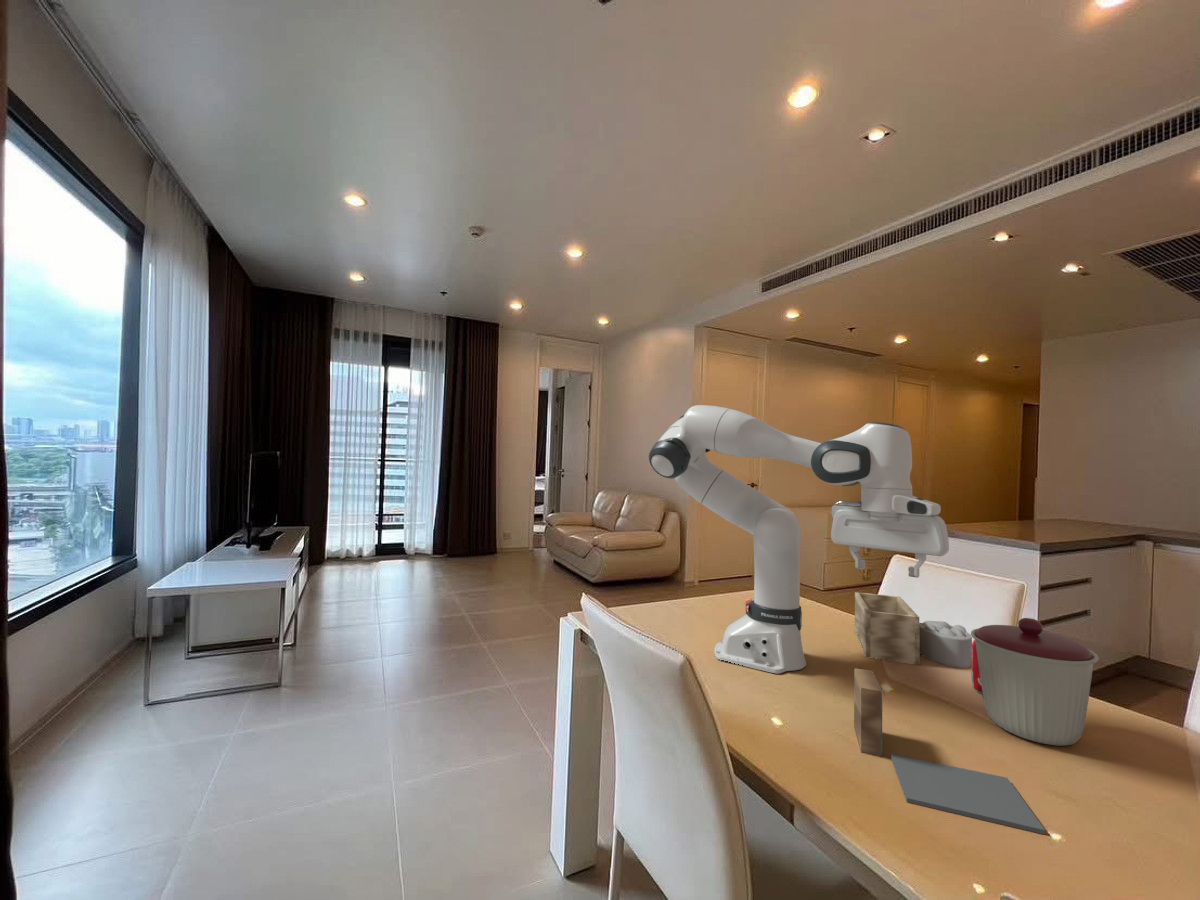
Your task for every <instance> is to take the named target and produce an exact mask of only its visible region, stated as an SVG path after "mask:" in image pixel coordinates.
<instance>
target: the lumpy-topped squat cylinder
mask: <svg viewBox="0 0 1200 900" xmlns="http://www.w3.org/2000/svg"><path fill="white" fill-rule="evenodd" d="M919 641H920V655H922V656H923V657H925V658H927V659H929V660H930V661H933V662H935V663H939V664H941V665H945V666H948V667H953V668H957V669H958V668H959V669H969V668H970V669H971V648H972V642H973V637H972V636H971V633H969V632H967V629H966V628H965V626H963V625H960V624H956V625H954V626H953V625H950V624H949V623H948V622H946V621H943V620H939V621H938V620H935V621H934V620H926V621H924V622H919Z"/></svg>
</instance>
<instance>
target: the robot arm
mask: <svg viewBox="0 0 1200 900" xmlns="http://www.w3.org/2000/svg"><path fill="white" fill-rule="evenodd" d="M911 442H912V441H911V436H910V434H909V432H908V431H907V430H906V429H905V427H902V426H900V425H897V424H893V423H887V422H879V421H877V422H876V421H873V422H867V423H866V424H865V425H863V426H862V427H861V428H858V429H857V430H855V431H853V432H851V433H848V434H846V435H843V436H840V437H837V438H832V439H829V440H827V441H825V442H818V441H814V440H811V439H806V438H803V437H799V436H795V435H793V434H792V435H791V434H788V433H786V432H783V431H781V430H779V429H777V428H775V427H773V426H772V425H770V424H768V423H766V422H764V421H762V420H761V419H758V418H757V417H754V416H753V415H750V414H748V413H745V412H742V411H740V410H736V409H733V408H728V407H722V406H719V405H709V404H708V405H706V404H697V405H696V404H695V405H693V406H691V407H689V408H688V410H686V412H685V413H684V414H683V415H682V416H680V417H679V419H678V420H676V421H675V422H673V424H671V425H670V426H669V427H668V428H667V429H666V430H665V432H664V433H663V434H662V435H661V437H660V438H659V439H658V440H657V441H656V442H655V443H654V445H653V446H652V447H651V449H650V451H649V453H648V462H649V465H650V466H651V468H652V469H653V471H654V472H655V473H656V474H657V475H659V476H661V477H663V478H666V479H674V480H675V482H676V485H678V486H679V487H680V488H681V489H682V490H683V491H684V492H685V493H687V495H688V496H690V497H692V499H694V500H695V501H696V502H698V503H700V504H701V505H703V506H704V507H705V508H706V509H708V510H710V511H711V512H713V513H714V514H716V515H718V516H719V517H720V518H723V519H724V520H725V521H726V522H729V523H730V524H733V525H734V526H737V527H738V528H740V529H742V530H744V531H745V532H747V533H749V534H751V535H752V536H753V563H754V564H753V568H754V569H753V570H754V571H753V572H754V574H753V575H754V576H753V580H754V583H753V584H754V585H753V587H754V589H753V593H754V594H753V597H754V598H753V599H752V598H746V600H745V603H744V604H745V614H744V615H743V616H741V617H740V618H738V619H737V620H735V621H733V622H732V623H730V624H729V625H728V626H727V627H726V629H725V632H724V634H723V639H722V640H720V641H718V642H717V643H716V644H715V646H714V649H713V651H714V652H713V655H714V654H715V655H714V657H715V656H716V657H717V658H718V659H720V660H719V661H721V660H724V661H723V662H725V661H728V662H727V663H729V662H731V664H734V663H735V664H734V665H738V664H739V665H738V666H742V665H743V666H742V667H747V668H751V669H754V670H759V671H763V672H768V673H772V674H776V675H777V674H782V673H785V672H790V671H797V670H799V671H800V670H802V669H803V668H805V667H806V666H807V661H806V658H805V654H804V649H803V642H802V636H801V633H802V632H801V629H802V627H803V611H802V606H801V601H800V599H801V597H800V596H801V593H800V592H801V590H800V589H801V587H800V586H801V542H802V541H801V540H802V539H801V536H802V535H801V534H802V533H801V532H802V530H801V525H800V523H799V519H798V518H797V515H796V514H795V513H794V512H793V511H792V510H790V508H787V507H786V506H784V505H783V504H782V503H779V502H778V501H776V500H774V499H772V498H771V497H769V496H767V495H766V494H764V493H762V492H760V491H759V490H757V489H755V488H754V487H751V485H748V484H747V483H745V482H743V481H741V480H740V479H738V478H737V477H735V476H734V475H733V474H731V473H729V472H727V471H726V470H724V469H722V468H721V467H720V466H717V465H716V464H714V463H712V462H711V461H710V460H709V459H708V456H707V454H706V453H708V452H711V451H712V452H715V453H719V454H721V455H725V456H730V457H737V458H746V459H772V460H773V459H775V460H781V461H786V462H788V463H792V464H796V465H799V466H803V467H807V468H810V469H811V470H812V472H813V473H814V475H815V476H816V477H817V478H819V480H821V481H822V482H825V483H826V484H830V485H832V486H833V485H835V486H842V487H843V486H844V487H853V486H856V485H861V486H860V487H861V488H860V491H861V492H860V495H861V496H860V498H861V499H860V501H855V500H854V501H853V500H852V501H847V500H839V501H837V502H835V503H834V504H832V506H831V516H832V519H833V520H832V525H831V530H830V531H831V533H830V539H831V541H832V542H833V543H834V545H840V546H847V547H848V548H849V553H850V555H851V556H852V558H853V559H854V563H855V566H854V567H855V569H857V570H865V569H866V567H867V565H866V561H867V560H866V559H862V557H861V556H860V555H859V551H861V548H866V549H875V550H882V551H891V552H899V553H900V552H901V553H907V554H914V555H915V556H914V559H915V560H917V562H916V563H915V564H914V566H913V565H911V566H908V569H907V570H908V577H912V578H915V579H916V578H917V579H918V578H919V577H920V568H921V567H922V566H923V564H924V563H925V562H926V560H927V556H932V557H933V556H935V557H943V556H945V555H946V554H947V553H948V552H949V551H950V544H949V540H950V539H949V534H948V529H947V525H946V522H945V520H944V519H943V518H942V517H941V516H939V515H940V514H941V510H942V508H941V505H940V504H939V503H936V502H933V501H930V500H927V499H925V498H923V497H922V498H921V497H917V496H914V495H913V485H912V482H911V472H912V470H913V469H912V468H913V451H912V443H911ZM716 657H715V658H716ZM717 658H716V659H717ZM718 659H717V660H718Z"/></svg>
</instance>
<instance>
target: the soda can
mask: <svg viewBox="0 0 1200 900" xmlns="http://www.w3.org/2000/svg"><path fill="white" fill-rule="evenodd" d="M970 670H971V672H970V673H971V674H970V675H971V685H972V688H973V689H974V690H976V691H977V692H978V693H979V694H981V695H982V696H983V692H982V686H981V679H980V672H979V665H978V657H977V650H976V642H975V639H973V640H972V648H971V667H970Z"/></svg>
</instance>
